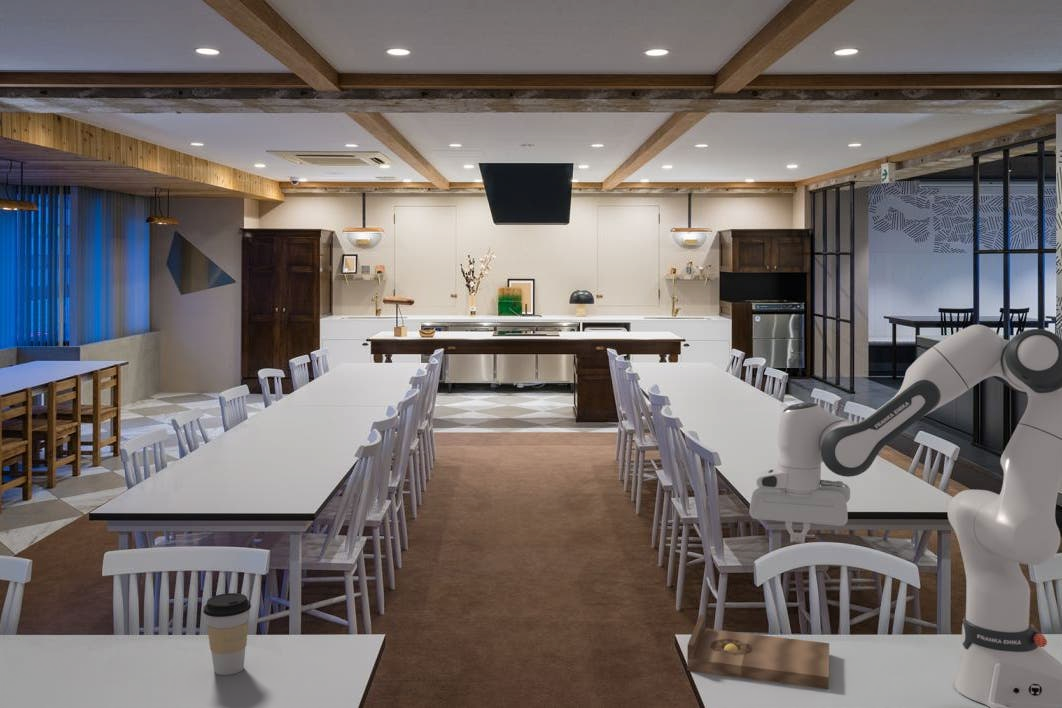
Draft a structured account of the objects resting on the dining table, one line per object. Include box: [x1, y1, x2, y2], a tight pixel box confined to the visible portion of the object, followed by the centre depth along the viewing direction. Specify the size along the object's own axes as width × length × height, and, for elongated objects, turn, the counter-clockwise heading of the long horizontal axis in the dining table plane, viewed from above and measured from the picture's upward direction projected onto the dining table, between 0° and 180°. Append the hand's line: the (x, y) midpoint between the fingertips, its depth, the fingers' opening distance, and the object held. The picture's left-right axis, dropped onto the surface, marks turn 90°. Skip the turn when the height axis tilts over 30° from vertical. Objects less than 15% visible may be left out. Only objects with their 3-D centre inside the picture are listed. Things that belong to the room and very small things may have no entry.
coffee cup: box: [202, 592, 252, 676], centre depth 189 cm, size 9×9×15 cm
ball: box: [724, 644, 739, 651], centre depth 195 cm, size 3×3×3 cm
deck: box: [686, 614, 830, 690], centre depth 193 cm, size 28×18×6 cm, turn 71°
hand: (797, 542), depth 194 cm, fingers closed
